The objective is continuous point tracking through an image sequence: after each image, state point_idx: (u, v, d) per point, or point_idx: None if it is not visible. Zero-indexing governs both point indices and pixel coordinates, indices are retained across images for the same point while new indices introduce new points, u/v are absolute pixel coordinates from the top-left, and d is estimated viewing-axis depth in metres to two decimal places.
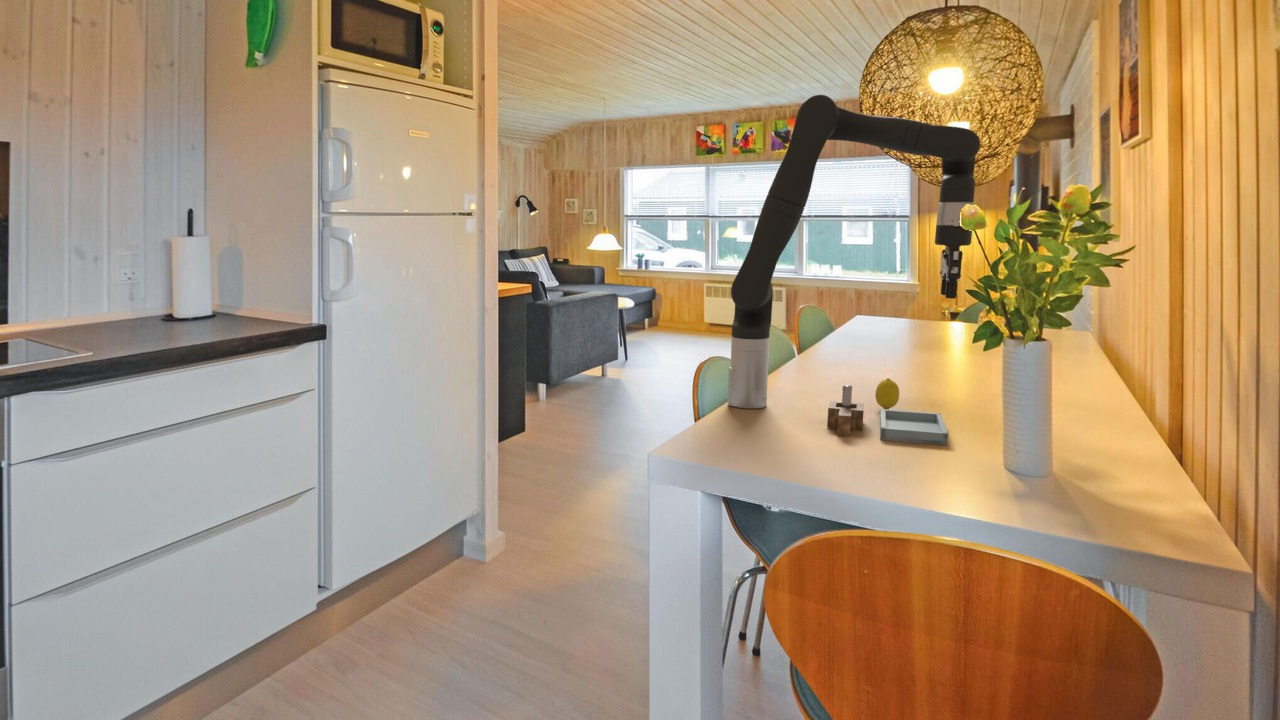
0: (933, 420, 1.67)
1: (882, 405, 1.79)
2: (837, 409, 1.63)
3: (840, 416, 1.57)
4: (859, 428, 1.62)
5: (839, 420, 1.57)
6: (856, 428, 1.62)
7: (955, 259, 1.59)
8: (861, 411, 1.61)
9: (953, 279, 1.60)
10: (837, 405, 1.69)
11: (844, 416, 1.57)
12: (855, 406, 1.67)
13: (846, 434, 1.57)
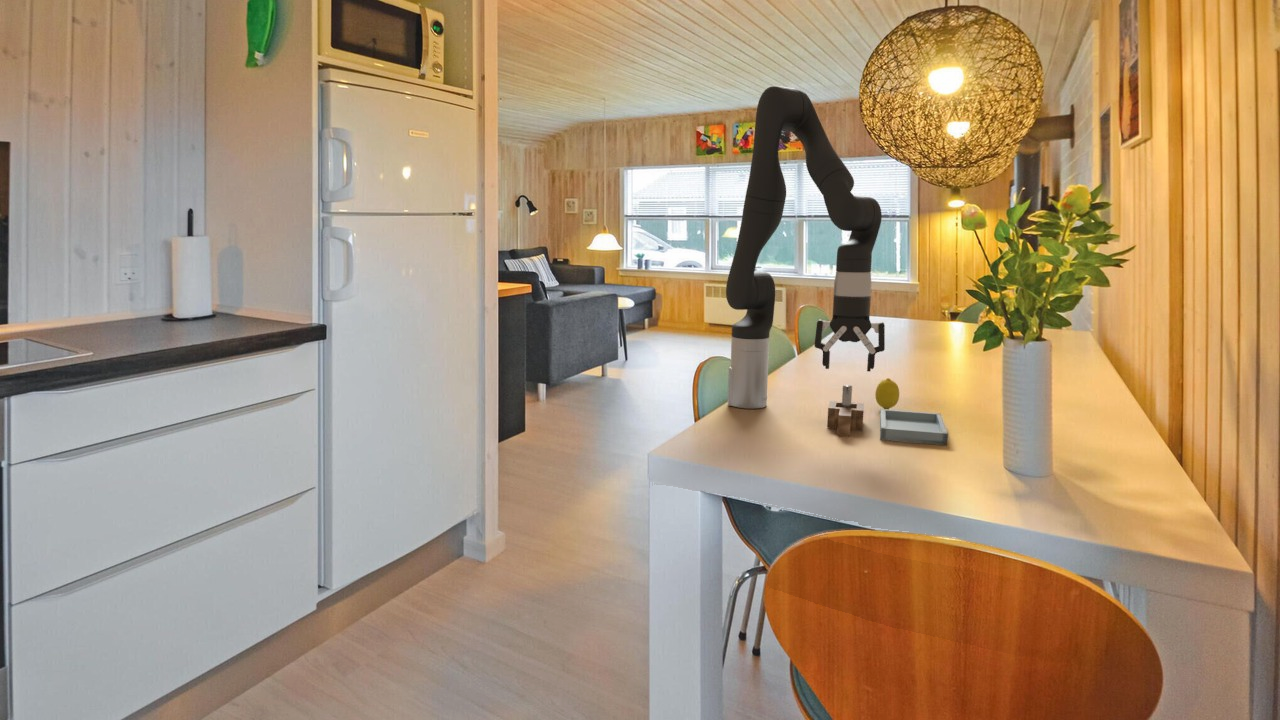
0: (933, 420, 1.67)
1: (882, 405, 1.79)
2: (837, 409, 1.63)
3: (840, 416, 1.57)
4: (859, 428, 1.62)
5: (839, 420, 1.57)
6: (856, 428, 1.62)
7: None
8: (861, 411, 1.61)
9: None
10: (837, 405, 1.69)
11: (844, 416, 1.57)
12: (855, 406, 1.67)
13: (846, 434, 1.57)
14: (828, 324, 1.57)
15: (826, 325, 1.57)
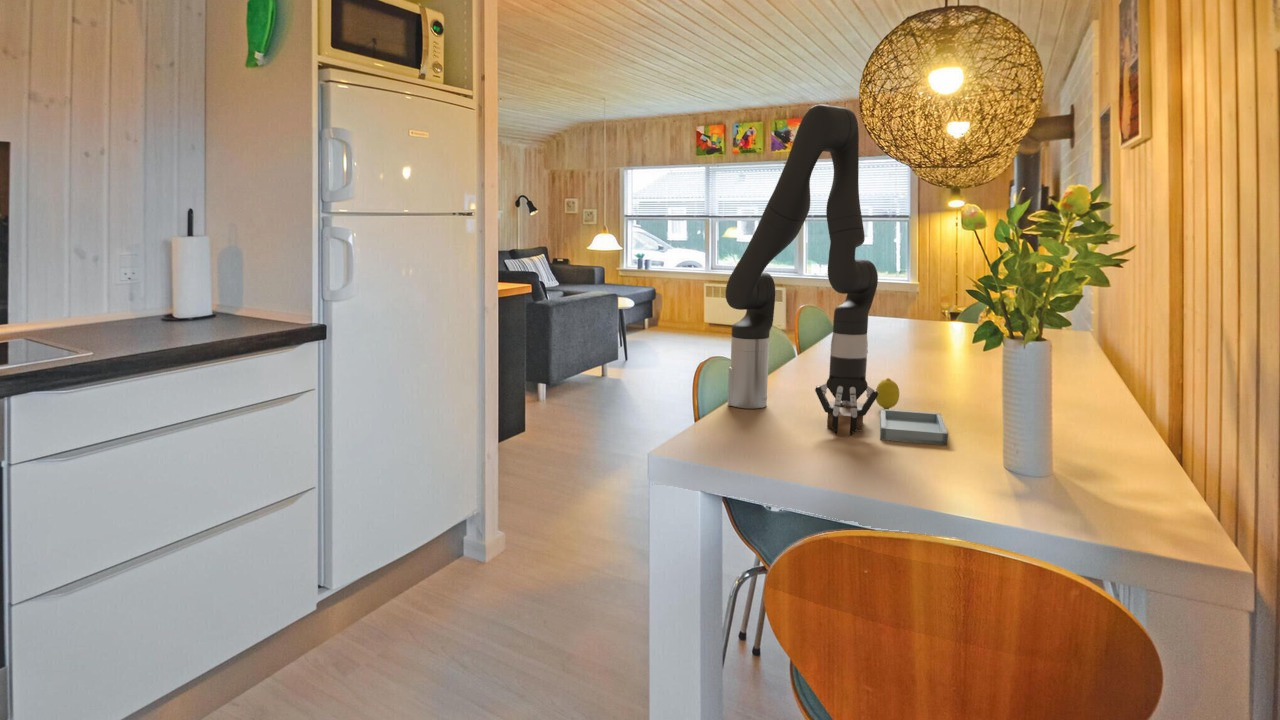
0: (933, 420, 1.67)
1: (882, 405, 1.79)
2: None
3: (840, 416, 1.57)
4: (859, 428, 1.62)
5: (839, 420, 1.57)
6: (856, 428, 1.62)
7: None
8: None
9: None
10: None
11: (844, 416, 1.57)
12: None
13: (846, 434, 1.57)
14: (826, 386, 1.59)
15: (824, 388, 1.59)
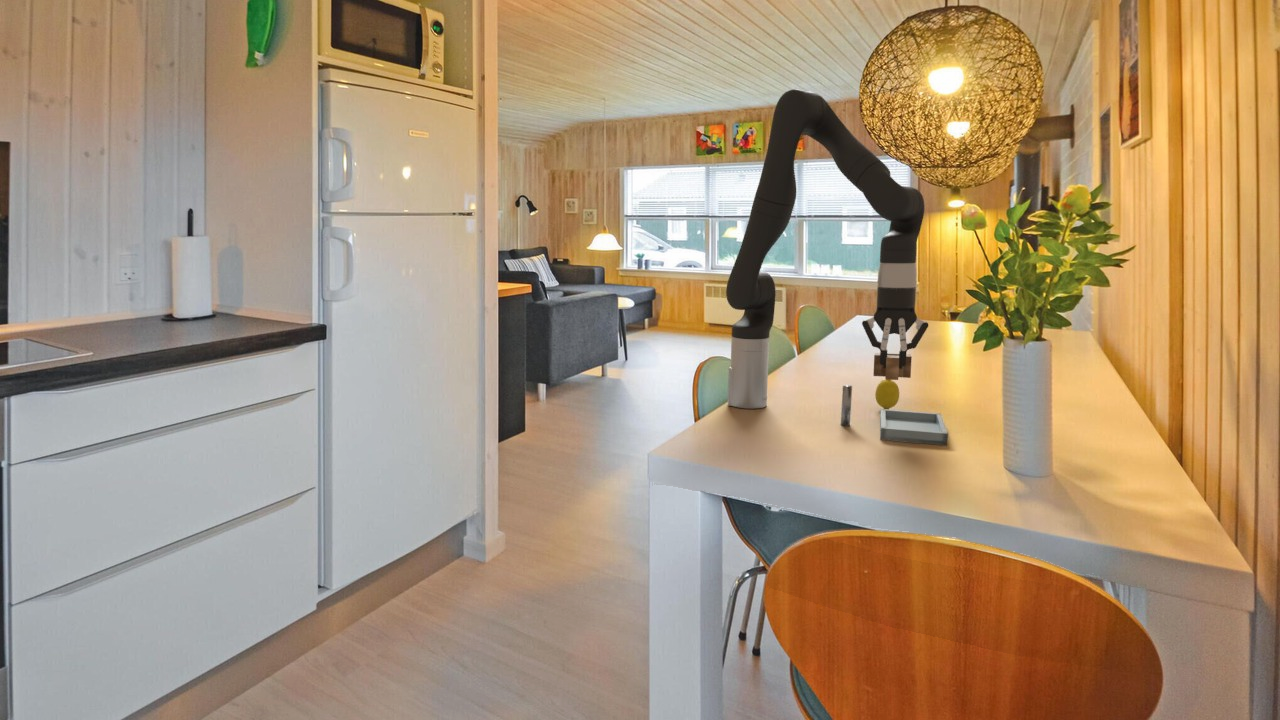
0: (933, 420, 1.67)
1: (882, 405, 1.79)
2: None
3: (888, 358, 1.52)
4: (907, 375, 1.56)
5: (887, 363, 1.52)
6: (904, 375, 1.56)
7: None
8: (909, 357, 1.56)
9: None
10: None
11: (892, 358, 1.51)
12: None
13: (894, 377, 1.51)
14: (873, 320, 1.54)
15: (872, 322, 1.55)
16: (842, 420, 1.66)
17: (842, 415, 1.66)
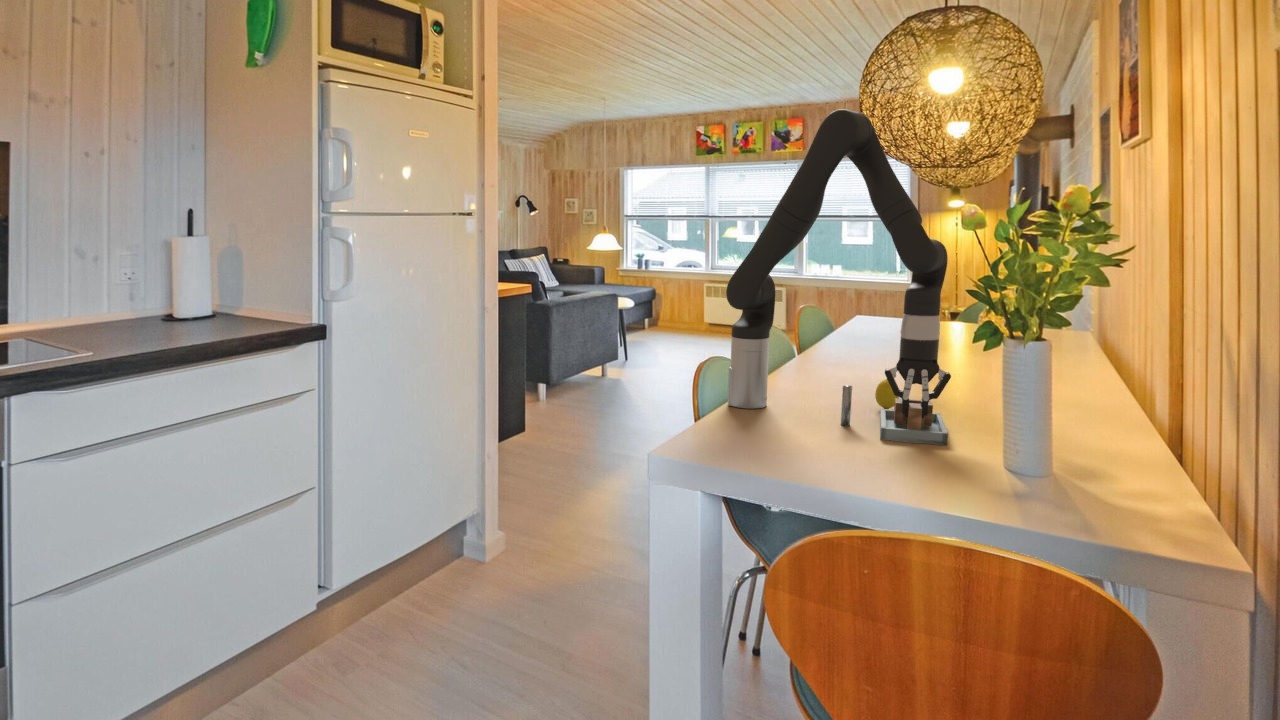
0: (933, 420, 1.67)
1: (882, 405, 1.79)
2: None
3: (911, 409, 1.53)
4: (928, 424, 1.58)
5: (910, 413, 1.53)
6: (925, 424, 1.58)
7: None
8: (930, 406, 1.58)
9: None
10: None
11: (915, 409, 1.53)
12: None
13: (917, 427, 1.53)
14: (896, 369, 1.56)
15: (894, 371, 1.56)
16: (842, 420, 1.66)
17: (842, 415, 1.66)
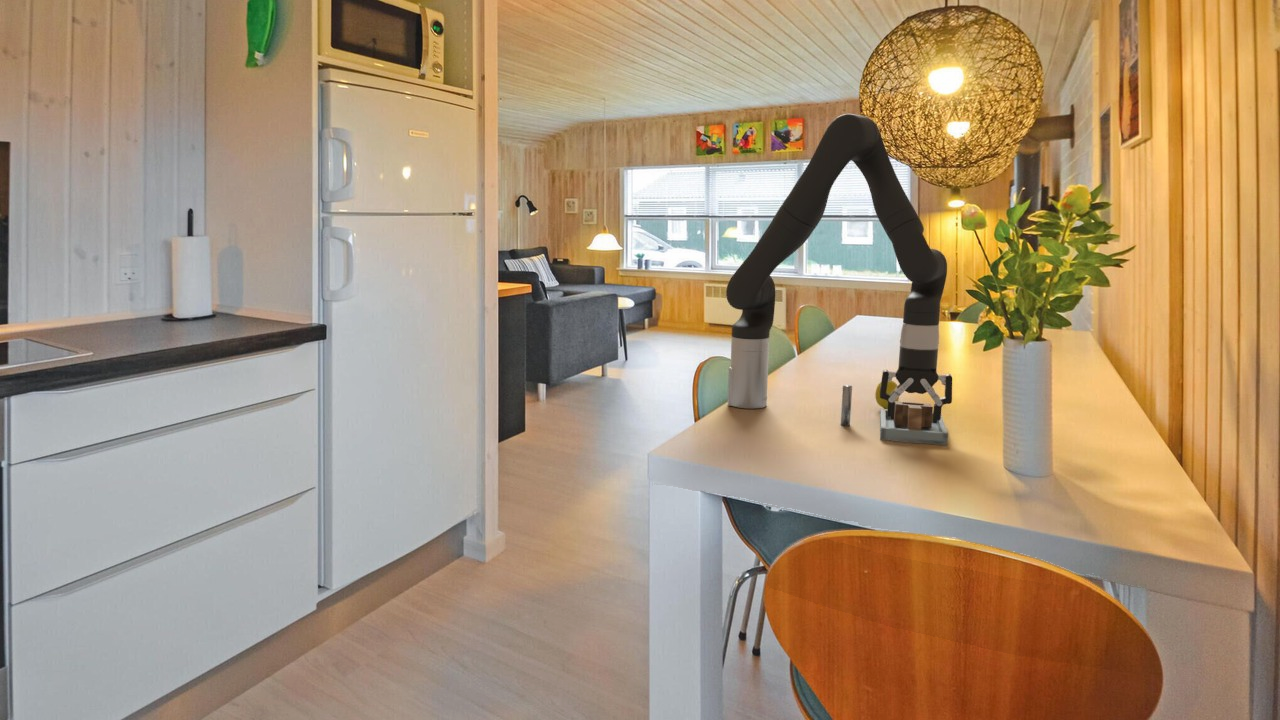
0: None
1: (882, 405, 1.79)
2: (905, 405, 1.60)
3: (911, 409, 1.53)
4: (928, 425, 1.58)
5: (910, 413, 1.54)
6: (925, 425, 1.58)
7: None
8: (930, 407, 1.58)
9: None
10: None
11: (915, 409, 1.53)
12: (921, 406, 1.64)
13: (917, 428, 1.53)
14: (894, 375, 1.56)
15: (892, 376, 1.57)
16: (842, 420, 1.66)
17: (842, 415, 1.66)
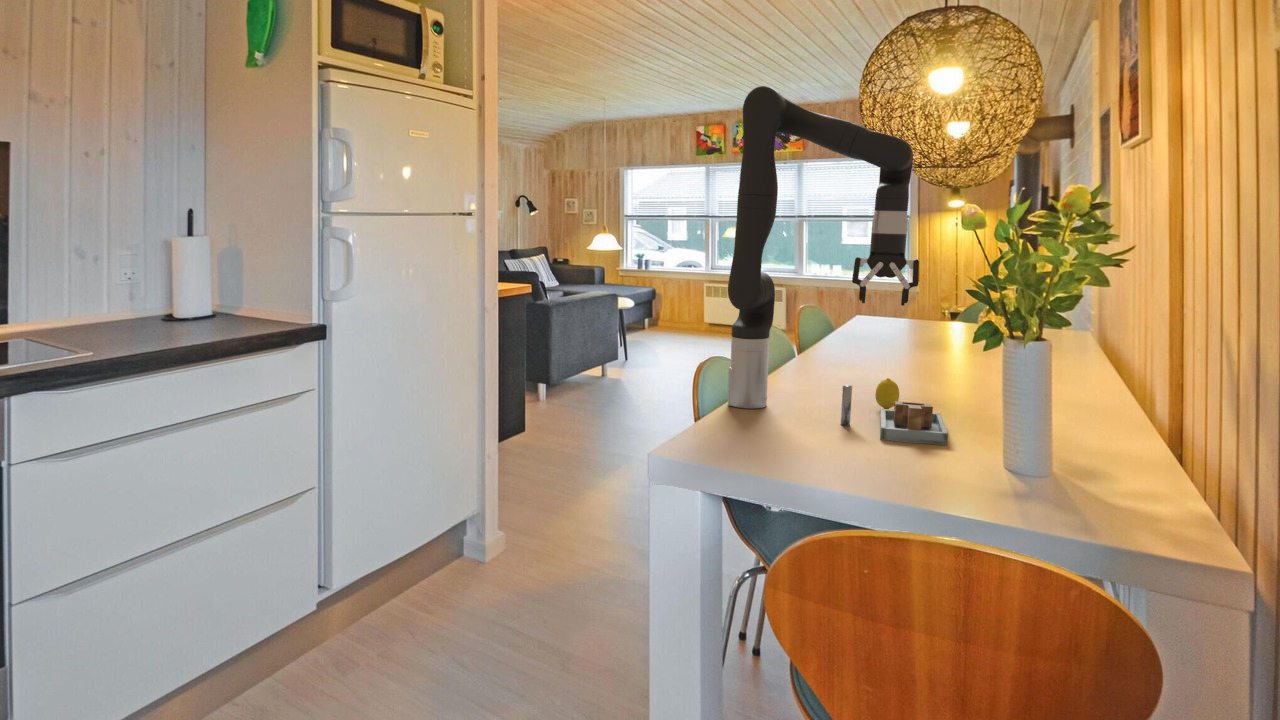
0: (933, 420, 1.67)
1: (882, 405, 1.79)
2: (905, 405, 1.60)
3: (911, 409, 1.53)
4: (928, 425, 1.58)
5: (910, 413, 1.54)
6: (925, 425, 1.58)
7: None
8: (930, 407, 1.58)
9: (913, 286, 1.66)
10: None
11: (915, 409, 1.53)
12: (921, 406, 1.64)
13: (917, 428, 1.53)
14: (865, 261, 1.67)
15: (863, 262, 1.68)
16: (842, 420, 1.66)
17: (842, 415, 1.66)
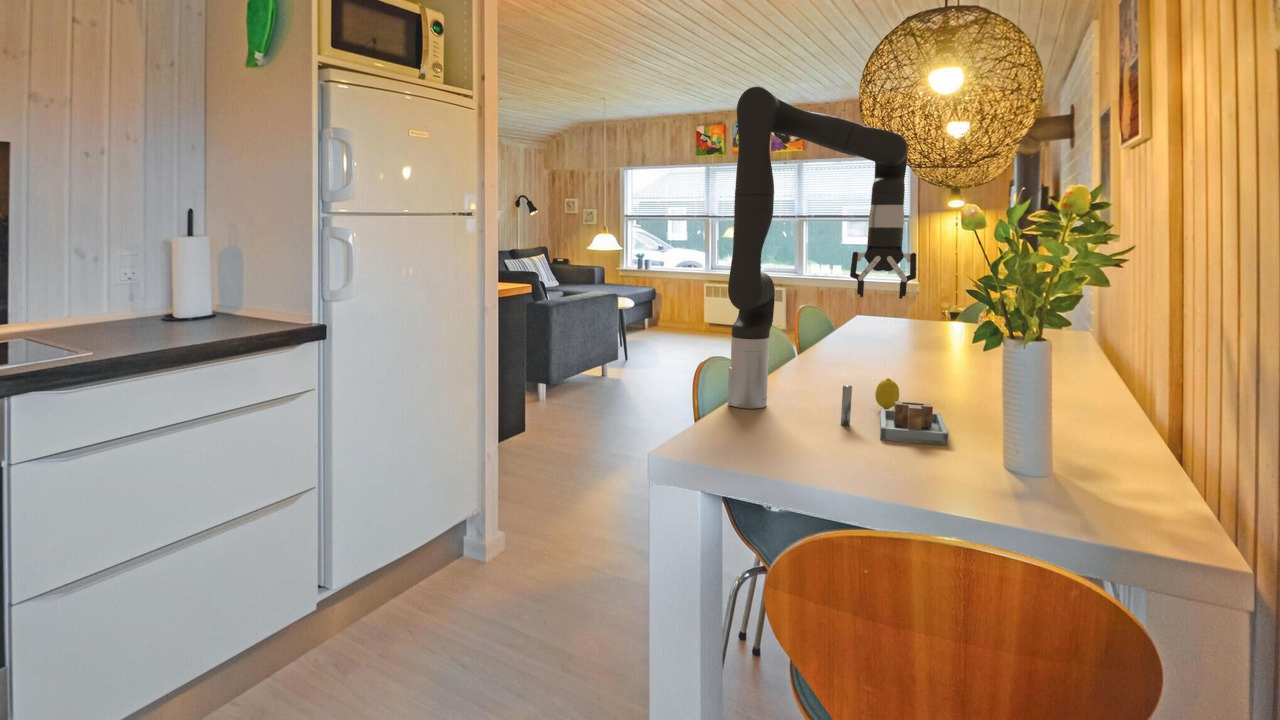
0: (933, 420, 1.67)
1: (882, 405, 1.79)
2: (905, 405, 1.60)
3: (911, 409, 1.53)
4: (928, 425, 1.58)
5: (910, 413, 1.54)
6: (925, 425, 1.58)
7: None
8: (930, 407, 1.58)
9: None
10: None
11: (915, 409, 1.53)
12: (921, 406, 1.64)
13: (917, 428, 1.53)
14: (863, 255, 1.69)
15: (861, 256, 1.69)
16: (842, 420, 1.66)
17: (842, 415, 1.66)
